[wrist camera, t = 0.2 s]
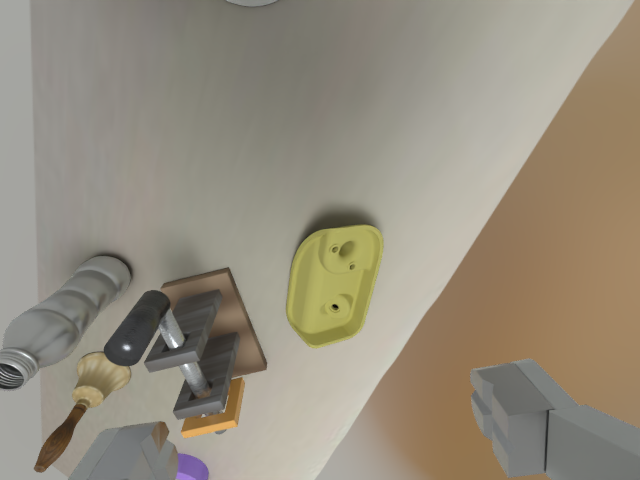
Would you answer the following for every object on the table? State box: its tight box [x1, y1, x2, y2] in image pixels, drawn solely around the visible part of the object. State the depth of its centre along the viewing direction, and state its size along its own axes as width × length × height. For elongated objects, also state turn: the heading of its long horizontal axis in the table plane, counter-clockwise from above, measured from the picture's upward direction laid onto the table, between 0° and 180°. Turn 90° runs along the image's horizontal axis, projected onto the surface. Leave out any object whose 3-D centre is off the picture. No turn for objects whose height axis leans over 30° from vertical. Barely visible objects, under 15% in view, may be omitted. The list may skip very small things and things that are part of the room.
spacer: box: [181, 377, 245, 438], centre depth 47 cm, size 1×7×7 cm, turn 104°
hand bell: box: [34, 352, 131, 472], centre depth 50 cm, size 8×8×16 cm
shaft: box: [104, 290, 227, 434], centre depth 39 cm, size 23×3×9 cm, turn 14°
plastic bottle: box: [0, 256, 131, 391], centre depth 41 cm, size 6×7×20 cm
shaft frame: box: [144, 268, 267, 420], centre depth 48 cm, size 19×10×14 cm, turn 14°
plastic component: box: [286, 224, 383, 348], centre depth 50 cm, size 20×7×10 cm
